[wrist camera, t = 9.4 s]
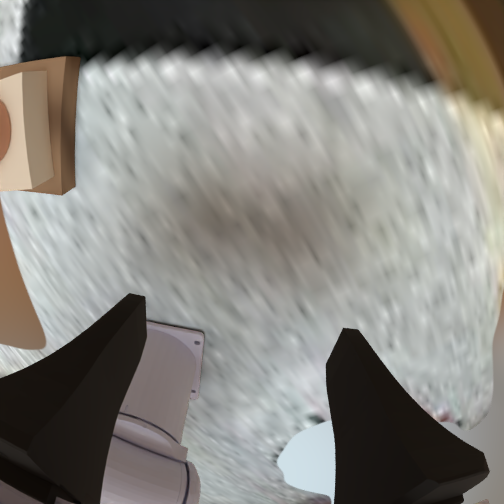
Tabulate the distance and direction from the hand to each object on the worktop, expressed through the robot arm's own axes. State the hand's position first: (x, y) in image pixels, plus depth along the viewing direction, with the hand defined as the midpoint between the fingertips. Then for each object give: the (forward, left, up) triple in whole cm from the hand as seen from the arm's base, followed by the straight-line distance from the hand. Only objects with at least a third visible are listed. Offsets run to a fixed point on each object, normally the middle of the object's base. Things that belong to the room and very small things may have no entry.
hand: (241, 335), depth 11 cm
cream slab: (+5, +17, -9) cm, 20 cm away
